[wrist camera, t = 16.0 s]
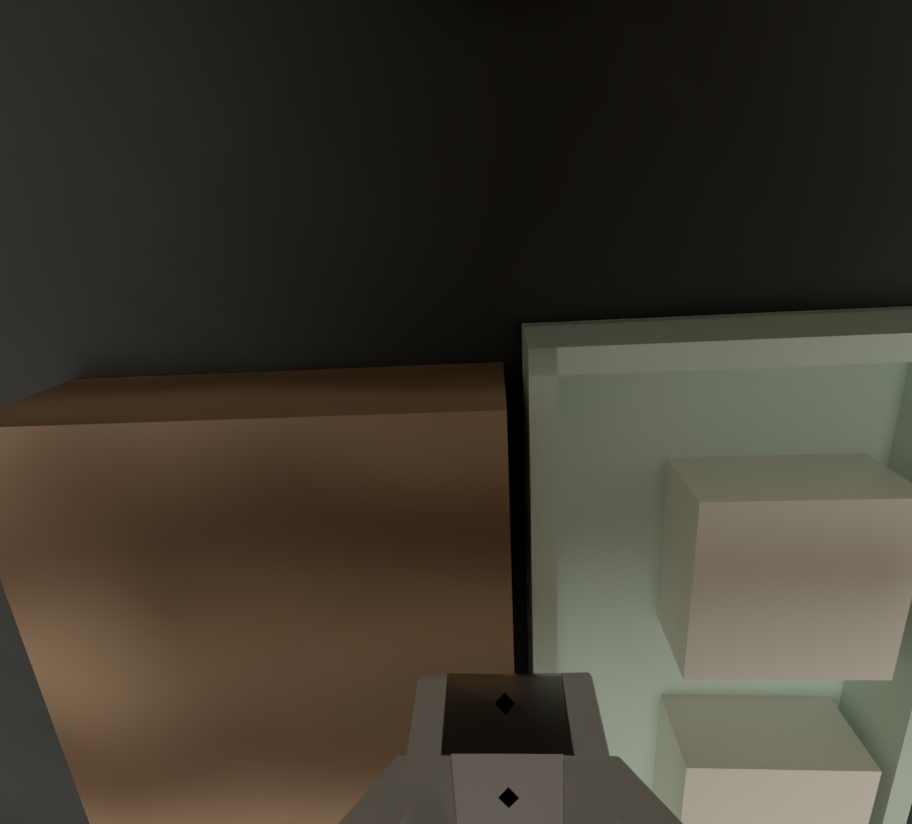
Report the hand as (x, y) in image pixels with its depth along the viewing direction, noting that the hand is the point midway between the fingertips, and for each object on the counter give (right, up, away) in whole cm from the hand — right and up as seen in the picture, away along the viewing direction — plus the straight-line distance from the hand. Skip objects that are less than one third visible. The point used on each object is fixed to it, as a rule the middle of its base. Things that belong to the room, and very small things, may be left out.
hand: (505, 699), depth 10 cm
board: (-5, -2, +8) cm, 10 cm away
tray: (+6, -2, +7) cm, 10 cm away
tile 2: (+7, +1, +3) cm, 8 cm away
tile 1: (+8, -7, +6) cm, 12 cm away
